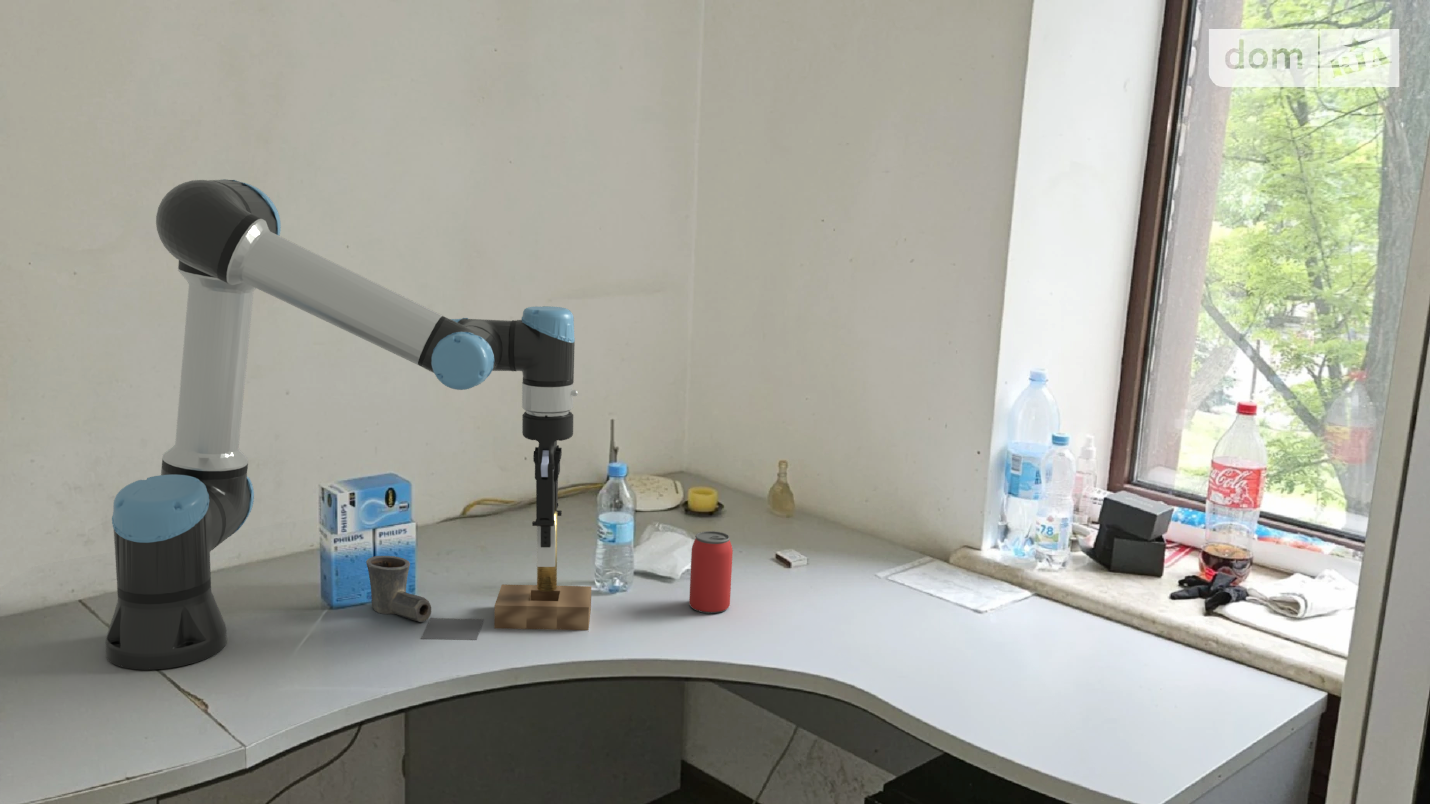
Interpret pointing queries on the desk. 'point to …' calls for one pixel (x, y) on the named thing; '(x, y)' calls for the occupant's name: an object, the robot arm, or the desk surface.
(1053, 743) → the desk surface
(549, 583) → the pin
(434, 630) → the mat
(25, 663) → the desk surface
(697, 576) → the beer can
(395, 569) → the pipe
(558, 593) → the socket block
